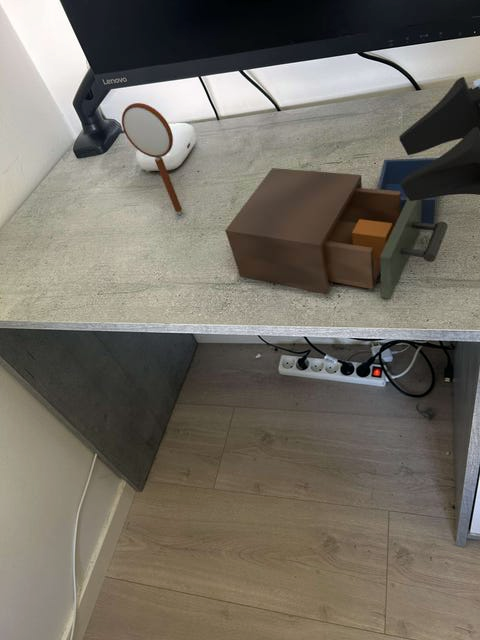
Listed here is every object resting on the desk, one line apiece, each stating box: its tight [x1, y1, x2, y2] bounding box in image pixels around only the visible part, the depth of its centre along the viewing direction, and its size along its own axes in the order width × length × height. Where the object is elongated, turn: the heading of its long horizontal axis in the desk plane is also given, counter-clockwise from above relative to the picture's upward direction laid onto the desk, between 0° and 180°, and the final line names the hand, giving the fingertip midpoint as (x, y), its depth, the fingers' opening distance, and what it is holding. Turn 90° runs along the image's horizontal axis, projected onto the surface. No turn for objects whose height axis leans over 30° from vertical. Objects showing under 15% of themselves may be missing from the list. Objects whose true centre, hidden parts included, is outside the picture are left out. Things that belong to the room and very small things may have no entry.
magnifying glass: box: [121, 102, 183, 216], centre depth 78 cm, size 9×2×20 cm, turn 65°
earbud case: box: [135, 122, 197, 172], centre depth 98 cm, size 10×13×5 cm
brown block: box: [352, 219, 393, 260], centre depth 64 cm, size 4×3×4 cm, turn 62°
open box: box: [376, 157, 439, 224], centre depth 71 cm, size 10×8×4 cm
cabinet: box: [225, 167, 363, 295], centre depth 68 cm, size 14×15×9 cm
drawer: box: [323, 187, 449, 299], centre depth 63 cm, size 17×13×7 cm
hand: (404, 167), depth 46 cm, fingers open, 7 cm apart
